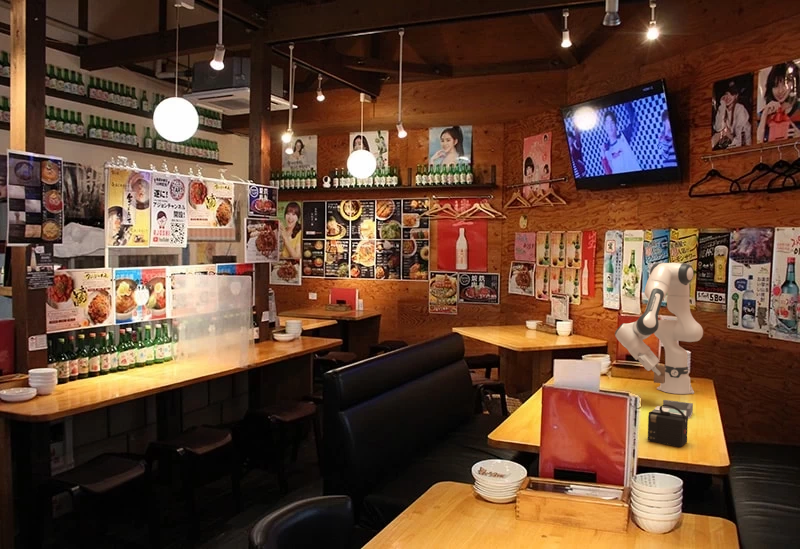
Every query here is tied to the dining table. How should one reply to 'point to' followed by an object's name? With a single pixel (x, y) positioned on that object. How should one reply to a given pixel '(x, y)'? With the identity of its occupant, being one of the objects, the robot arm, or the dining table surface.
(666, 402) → the corner arena
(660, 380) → the walnut block
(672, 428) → the black portable radio
